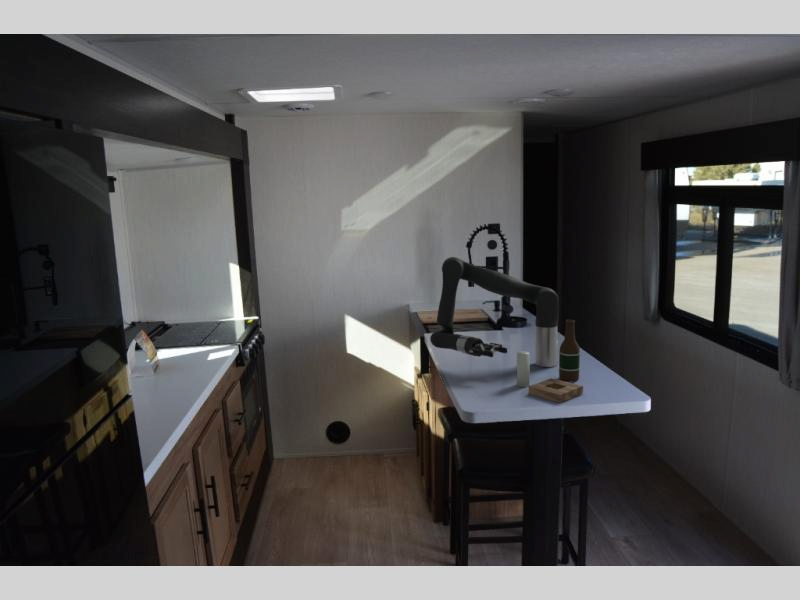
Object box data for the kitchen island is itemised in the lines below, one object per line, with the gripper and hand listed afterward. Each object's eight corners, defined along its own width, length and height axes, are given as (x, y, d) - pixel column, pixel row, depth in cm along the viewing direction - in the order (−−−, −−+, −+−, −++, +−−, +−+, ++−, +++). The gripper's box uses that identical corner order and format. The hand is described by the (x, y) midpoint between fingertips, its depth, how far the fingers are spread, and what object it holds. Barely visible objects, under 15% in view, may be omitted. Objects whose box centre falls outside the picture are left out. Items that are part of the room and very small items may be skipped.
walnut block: (551, 385, 236) (551, 378, 236) (582, 393, 226) (583, 386, 225) (528, 394, 227) (528, 386, 227) (560, 402, 217) (560, 394, 216)
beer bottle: (580, 382, 239) (581, 322, 235) (559, 381, 241) (560, 322, 237) (578, 376, 247) (579, 318, 243) (558, 376, 248) (559, 318, 244)
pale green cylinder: (521, 382, 241) (522, 350, 239) (531, 385, 237) (532, 352, 235) (514, 385, 238) (514, 352, 236) (524, 388, 234) (524, 355, 232)
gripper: (458, 339, 251) (488, 346, 239) (481, 334, 260) (511, 340, 248) (457, 357, 252) (487, 365, 240) (481, 351, 261) (511, 358, 249)
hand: (499, 352), depth 244 cm, fingers open, 8 cm apart
